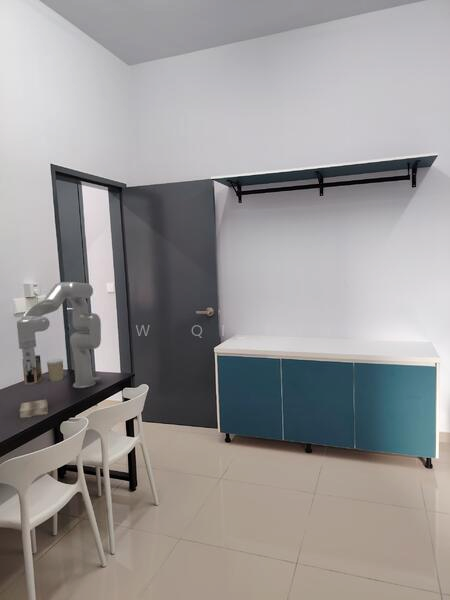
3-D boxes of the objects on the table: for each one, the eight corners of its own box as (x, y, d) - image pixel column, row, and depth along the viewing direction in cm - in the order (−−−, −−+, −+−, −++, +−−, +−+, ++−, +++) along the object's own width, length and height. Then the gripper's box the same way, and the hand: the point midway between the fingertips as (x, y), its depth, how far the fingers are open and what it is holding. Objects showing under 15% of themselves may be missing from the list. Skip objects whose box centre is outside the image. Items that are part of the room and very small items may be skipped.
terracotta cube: (36, 379, 211) (35, 370, 211) (36, 382, 207) (35, 372, 206) (25, 381, 210) (24, 371, 209) (25, 384, 205) (24, 373, 204)
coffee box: (34, 385, 255) (31, 358, 253) (24, 385, 256) (21, 358, 254) (43, 380, 264) (40, 355, 262) (33, 380, 265) (31, 355, 263)
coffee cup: (67, 378, 265) (65, 359, 264) (53, 382, 258) (51, 363, 257) (59, 376, 271) (58, 357, 270) (45, 380, 264) (43, 361, 263)
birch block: (47, 406, 218) (46, 399, 217) (47, 414, 207) (46, 406, 206) (21, 411, 213) (21, 403, 213) (20, 419, 202) (19, 411, 202)
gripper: (35, 346, 200) (39, 384, 202) (36, 340, 215) (39, 375, 217) (17, 348, 197) (21, 386, 199) (20, 342, 213) (23, 377, 215)
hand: (31, 380), depth 208 cm, fingers closed on terracotta cube, 4 cm apart
